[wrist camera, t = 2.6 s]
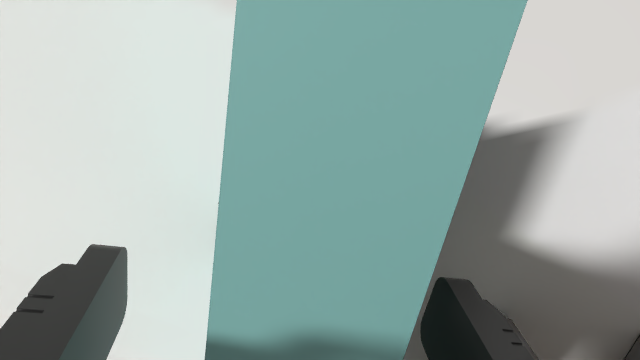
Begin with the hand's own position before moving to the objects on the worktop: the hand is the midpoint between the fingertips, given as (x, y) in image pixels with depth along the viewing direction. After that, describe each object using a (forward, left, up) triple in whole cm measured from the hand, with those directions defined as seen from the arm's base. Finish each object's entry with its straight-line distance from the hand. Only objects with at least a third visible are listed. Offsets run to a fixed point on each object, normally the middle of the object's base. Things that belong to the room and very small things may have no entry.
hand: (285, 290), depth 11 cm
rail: (0, 0, -3) cm, 3 cm away
